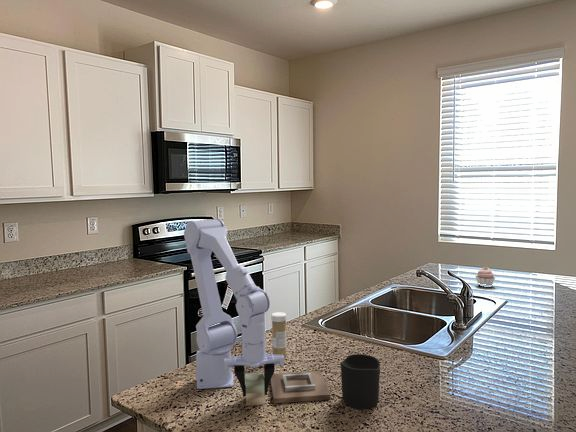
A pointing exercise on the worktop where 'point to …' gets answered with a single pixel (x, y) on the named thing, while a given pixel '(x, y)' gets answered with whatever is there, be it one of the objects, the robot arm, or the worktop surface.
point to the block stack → (255, 389)
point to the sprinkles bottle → (279, 333)
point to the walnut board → (299, 387)
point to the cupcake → (485, 276)
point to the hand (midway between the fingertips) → (254, 394)
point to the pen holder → (360, 381)
